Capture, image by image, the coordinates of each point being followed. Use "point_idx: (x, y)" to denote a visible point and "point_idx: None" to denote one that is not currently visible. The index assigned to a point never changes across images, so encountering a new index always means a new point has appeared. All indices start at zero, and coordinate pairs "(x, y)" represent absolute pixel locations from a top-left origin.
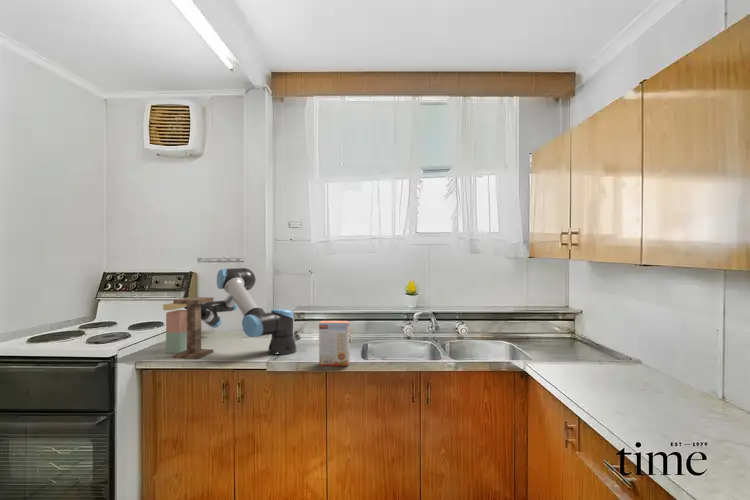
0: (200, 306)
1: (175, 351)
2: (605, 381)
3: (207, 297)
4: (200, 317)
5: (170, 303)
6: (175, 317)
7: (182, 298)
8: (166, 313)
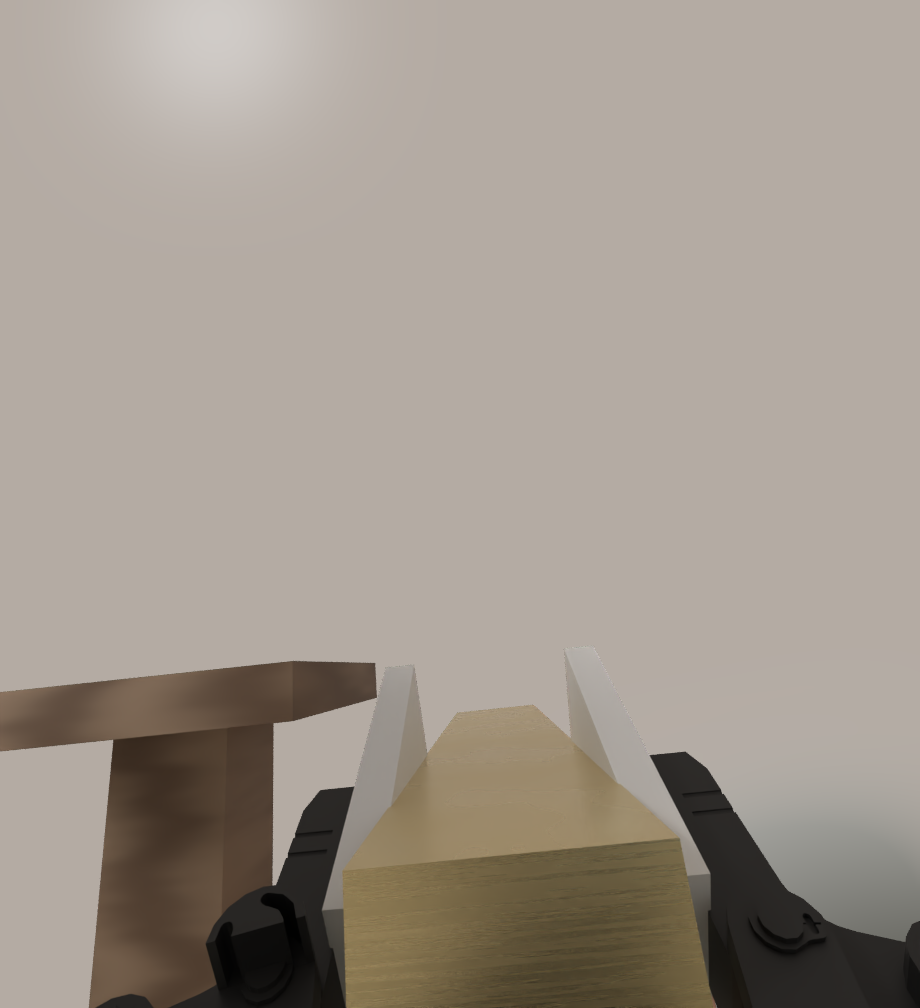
0: (117, 790)
1: None
2: None
3: (13, 691)
4: (102, 957)
5: (520, 714)
6: None
7: (341, 662)
8: None
